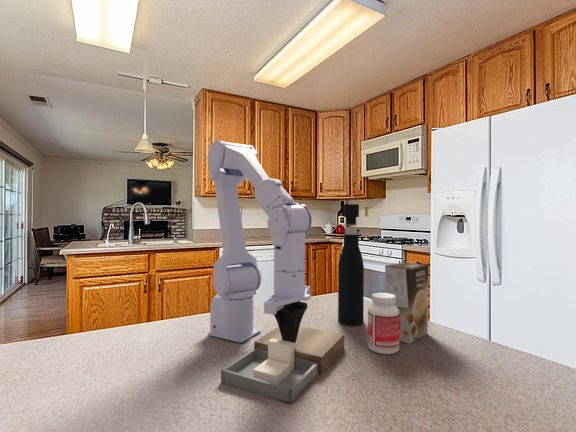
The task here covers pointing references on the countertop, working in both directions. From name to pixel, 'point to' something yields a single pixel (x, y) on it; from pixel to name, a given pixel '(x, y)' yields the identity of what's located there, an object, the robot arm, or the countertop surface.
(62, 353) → the countertop surface
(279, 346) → the tile
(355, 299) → the black water bottle
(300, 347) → the board
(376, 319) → the pill bottle
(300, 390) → the tray
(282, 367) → the tile
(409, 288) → the coffee box
